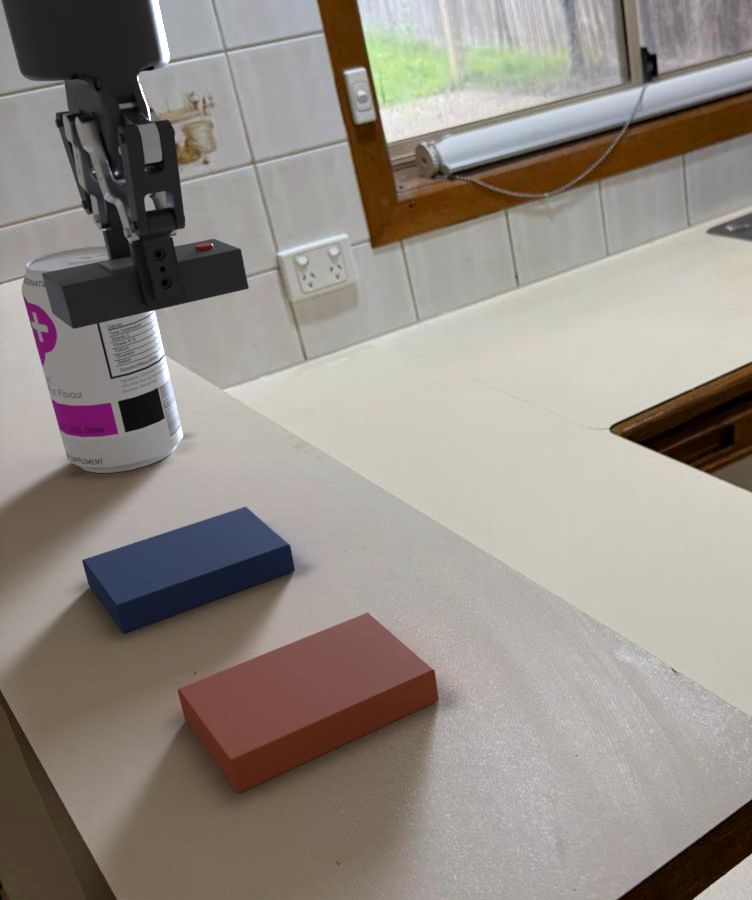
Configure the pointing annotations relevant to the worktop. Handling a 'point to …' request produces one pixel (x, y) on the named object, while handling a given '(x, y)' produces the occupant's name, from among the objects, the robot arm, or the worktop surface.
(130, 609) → the blue flat block
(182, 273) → the remote
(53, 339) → the supplement can
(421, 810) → the worktop surface
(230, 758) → the red rectangular block
